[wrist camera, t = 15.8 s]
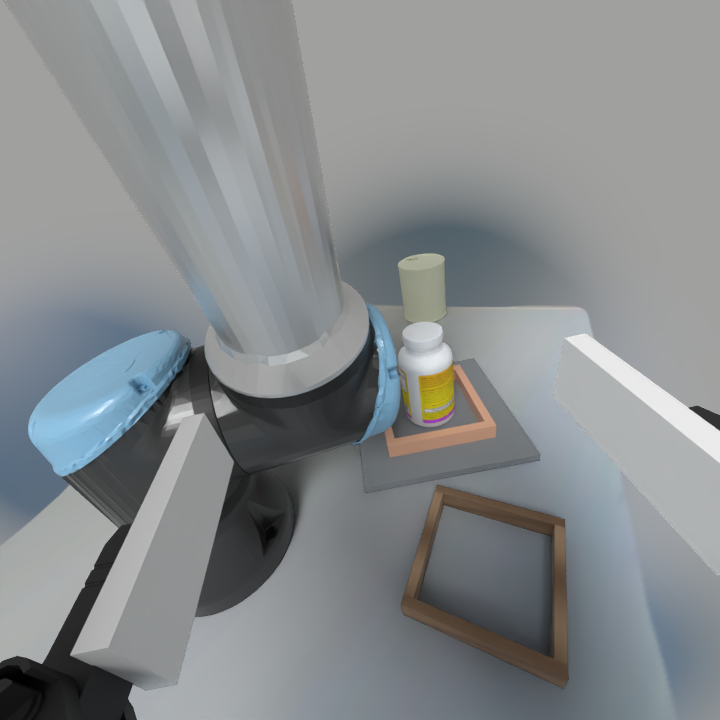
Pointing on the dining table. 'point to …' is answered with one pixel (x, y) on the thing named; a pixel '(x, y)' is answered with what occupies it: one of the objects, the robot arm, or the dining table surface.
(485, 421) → the collar
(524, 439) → the mat
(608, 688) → the dining table surface
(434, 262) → the can
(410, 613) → the collar
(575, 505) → the dining table surface
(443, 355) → the supplement bottle
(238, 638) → the dining table surface
